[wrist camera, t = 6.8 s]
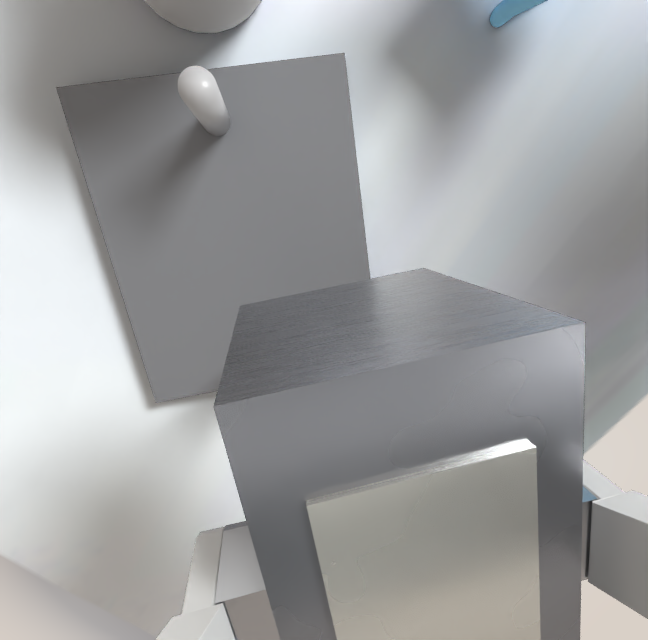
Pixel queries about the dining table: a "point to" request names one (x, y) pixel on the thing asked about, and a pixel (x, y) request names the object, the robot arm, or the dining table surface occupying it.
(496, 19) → the chair
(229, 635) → the robot arm
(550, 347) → the block
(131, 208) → the grey peg base
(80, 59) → the dining table surface
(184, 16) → the cup
